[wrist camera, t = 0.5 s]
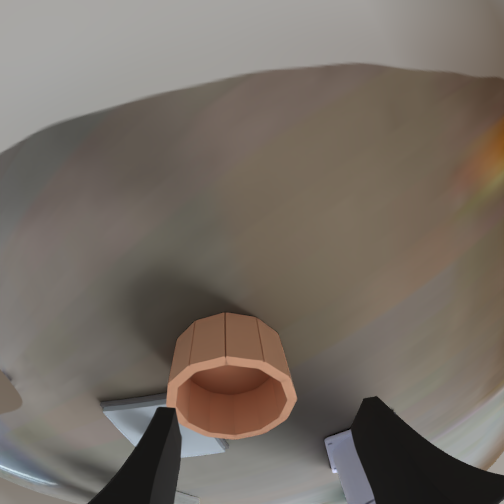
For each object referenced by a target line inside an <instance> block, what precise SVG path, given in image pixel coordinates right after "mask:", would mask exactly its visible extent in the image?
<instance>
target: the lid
mask: <svg viewBox="0 0 504 504" xmlns="http://www.w3.org/2000/svg"><path fill="white" fill-rule="evenodd" d="M166 401H167V399H162V400H156V401H149V402H142V403H135V404H127V405H118V406H109V407H104V409H103V413H104V414H105V415H106V416H107V417H108V419H109V420H110V421H111V422H112V423H113V424H114V425H115V426H116V427H117V428H118V429H119V431H120V432H121V433H122V434H123V435H124V436H125V437H126V438H127V439H128V440H129V441H130V442H131V443H132V444H133V445H134V446H135V447H136V446H137V444H138V442H139V441H140V439H141V438H142V436H143V434H144V432H145V431H146V429H147V427H148V425H149V423H150V421H151V420H152V418H153V416H154V413H155V411H156V409H157V408H158V407H167V405H166ZM178 423H179V422H178ZM179 428H180V433H181V438H182V439H181V458H183V457H192V456H200V455H208V454H215V453H221V452H225V447H224V445H223V444H222V443H221V441H220V440H219V439H218V438H213V437H207V436H203V435H201V434H199V433H197V432H195V431H193V430H191V429H188V428H186V427H184V426H182V425H181V424H180V423H179ZM179 470H180V467H179Z"/></svg>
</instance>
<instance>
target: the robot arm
mask: <svg viewBox="0 0 504 504" xmlns="http://www.w3.org/2000/svg"><path fill="white" fill-rule="evenodd" d="M181 439H182V438H181V433H180V428H179V423H178V418H177V413H176V408H171V407H158V408H157V409H156V411H155V413H154V416H153V418H152V420H151V421H150V423H149V425H148V427H147V429H146V431H145V432H144V434H143V436H142V438H141V439H140V441H139V442H138V444H137V446H136V447H135V449H134V450H133V452H132V453H131V455H130V456H129V457H128V459H127V460H126V462H125V463H124V464H123V466H122V467H121V468H120V470H119V471H118V472H117V473H116V475H115V476H114V477H113V478H112V479H111V481H110V482H109V483H108V484H107V485H106V486H105V487H104V488H103V489H102V490H101V491H100V492H99V493H98V494H97V495H96V496H95V497H94V498H93V499H92V500H91V501H90V502H89V503H88V504H174V500H175V493H176V487H177V480H178V474H179V467H180V461H181ZM324 441H325V445H326V449H327V453H328V457H329V461H330V465H331V469H332V472H333V473H336V472H338V475H339V479H340V482H341V485H342V488H343V491H344V494H345V497H346V500H347V504H499V503H500V502H501V501H503V500H504V475H500V474H495V473H491V472H487V471H484V470H481V469H479V468H476V467H473V466H471V465H468V464H466V463H464V462H462V461H460V460H458V459H456V458H454V457H452V456H450V455H448V454H447V453H445V452H444V451H442V450H440V449H439V448H437V447H436V446H434V445H433V444H431V443H430V442H429V441H427V440H426V439H425V438H423V437H422V436H421V435H420V434H418V433H417V432H416V431H415V430H413V429H412V428H411V427H410V426H409V425H408V424H406V423H405V422H404V421H403V420H402V419H401V418H400V417H399V416H398V415H397V414H396V412H393V411H392V410H391V409H390V408H389V407H388V406H387V405H386V404H385V403H384V402H383V401H381V400H380V399H379V398H378V397H377V396H375V397H370V398H364V399H363V401H362V404H361V406H360V408H359V411H358V413H357V415H356V417H355V420H354V422H353V424H352V426H351V428H350V430H347V431H345V432H342V433H339V434H336V435H333V436H330V437H327V438H326V439H325V440H324Z"/></svg>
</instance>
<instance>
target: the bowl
mask: <svg viewBox="0 0 504 504" xmlns="http://www.w3.org/2000/svg"><path fill="white" fill-rule="evenodd" d="M296 401H297V395H296V392H295V388H294V385H293V381H292V377H291V374H290V370H289V367H288V363H287V359H286V356H285V353H284V349H283V346H282V343H281V340H280V337H279V334H278V333H277V332H276V331H274V330H273V329H272V328H270V327H269V326H268V325H266V324H265V323H264V322H262V321H261V320H260V319H258V318H256V317H253V316H246V315H240V314H234V313H227V312H226V313H220V314H217V315H213V316H210V317H206V318H202V319H199V320H196V321H194V322H193V323H192V324H191V325H190V326H189V327H188V328H187V329H186V330H185V331H184V332H183V333H182V334H181V335H180V336H179V337H178V338H177V341H176V346H175V351H174V356H173V361H172V365H171V370H170V375H169V381H168V388H167V401H166V405H167V407H171V408H176V413H177V418H178V422H179V423H180V424H181V425H182V426H184V427H186V428H188V429H191V430H193V431H195V432H197V433H199V434H201V435H203V436H207V437H213V438H223V439H234V440H235V439H236V440H237V439H242V438H247V437H251V436H256V435H260V434H264V433H266V432H268V431H270V430H271V429H273V428H274V427H276V426H277V425H279V424H280V423H282V422H283V421H285V420H286V419H288V417H289V415H290V413H291V411H292V409H293V407H294V405H295V403H296Z"/></svg>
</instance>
